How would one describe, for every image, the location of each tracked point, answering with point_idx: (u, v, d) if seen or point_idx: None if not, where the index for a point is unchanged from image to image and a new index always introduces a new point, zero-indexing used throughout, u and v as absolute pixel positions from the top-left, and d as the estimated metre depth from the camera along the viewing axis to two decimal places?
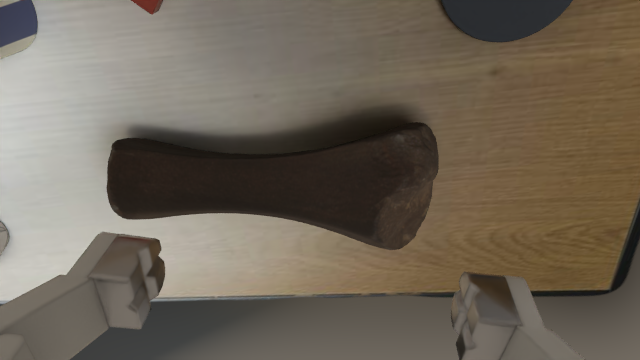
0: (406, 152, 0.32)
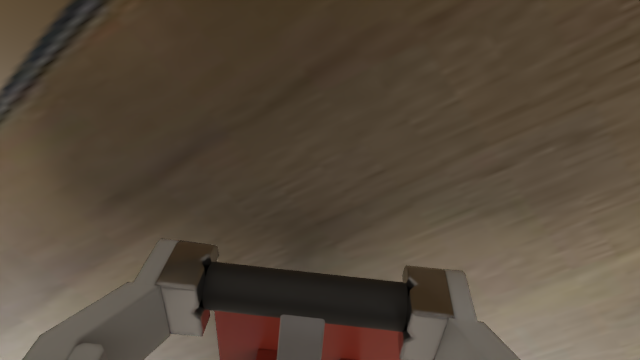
0: None
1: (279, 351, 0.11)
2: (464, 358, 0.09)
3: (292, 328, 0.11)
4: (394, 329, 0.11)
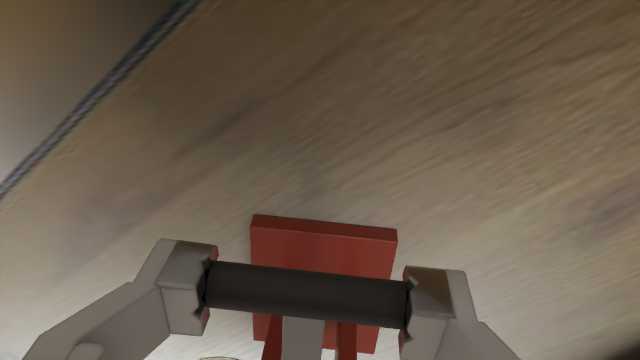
0: None
1: (283, 338, 0.12)
2: (464, 358, 0.09)
3: (294, 325, 0.11)
4: None
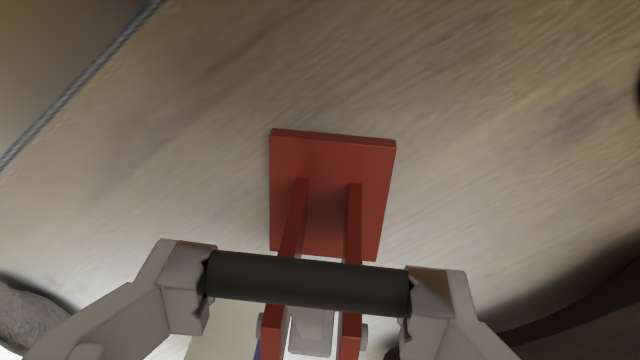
0: None
1: (288, 308, 0.12)
2: (465, 358, 0.09)
3: (296, 306, 0.12)
4: None
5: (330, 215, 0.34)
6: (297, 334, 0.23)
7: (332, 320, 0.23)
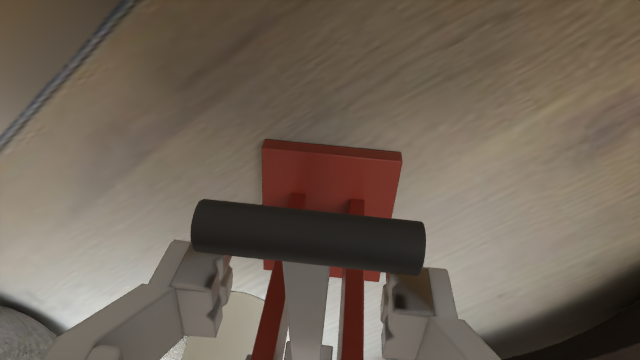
0: None
1: (285, 278, 0.11)
2: (444, 356, 0.09)
3: (295, 269, 0.10)
4: None
5: None
6: None
7: None
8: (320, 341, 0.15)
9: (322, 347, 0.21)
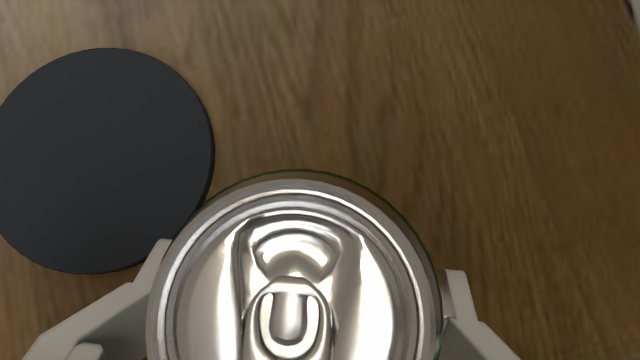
0: None
1: None
2: (465, 358, 0.09)
3: None
4: None
5: None
6: None
7: None
8: None
9: None
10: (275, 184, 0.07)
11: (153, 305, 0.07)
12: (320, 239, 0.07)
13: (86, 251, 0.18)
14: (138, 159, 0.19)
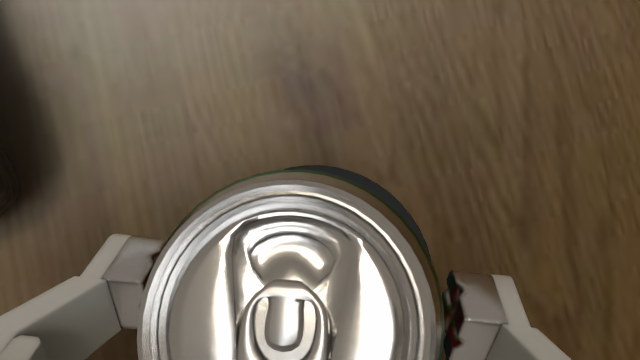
0: None
1: None
2: None
3: None
4: None
5: None
6: None
7: None
8: None
9: None
10: (271, 185, 0.07)
11: (145, 309, 0.06)
12: (317, 241, 0.07)
13: None
14: None
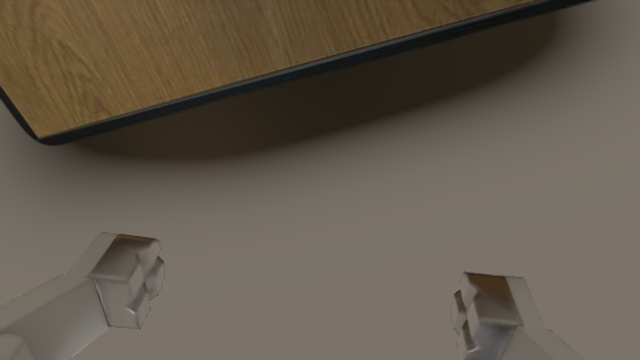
0: None
1: None
2: None
3: None
4: None
5: None
6: None
7: None
8: None
9: None
10: None
11: None
12: None
13: None
14: None
